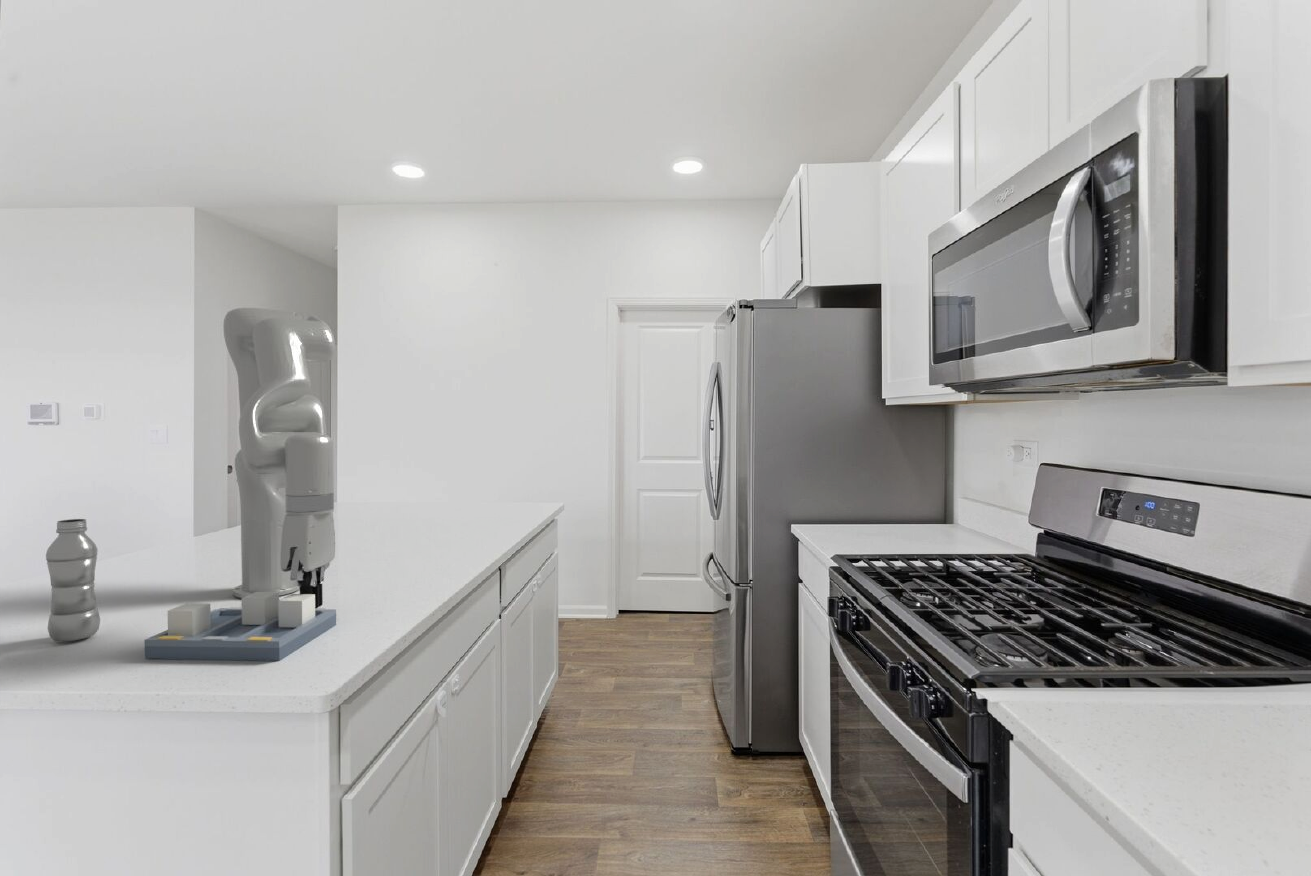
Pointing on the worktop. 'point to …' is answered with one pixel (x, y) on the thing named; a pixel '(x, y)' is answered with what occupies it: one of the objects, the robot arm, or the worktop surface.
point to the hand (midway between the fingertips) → (311, 606)
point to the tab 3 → (296, 609)
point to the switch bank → (240, 638)
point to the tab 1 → (189, 620)
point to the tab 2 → (259, 608)
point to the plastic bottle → (72, 583)
